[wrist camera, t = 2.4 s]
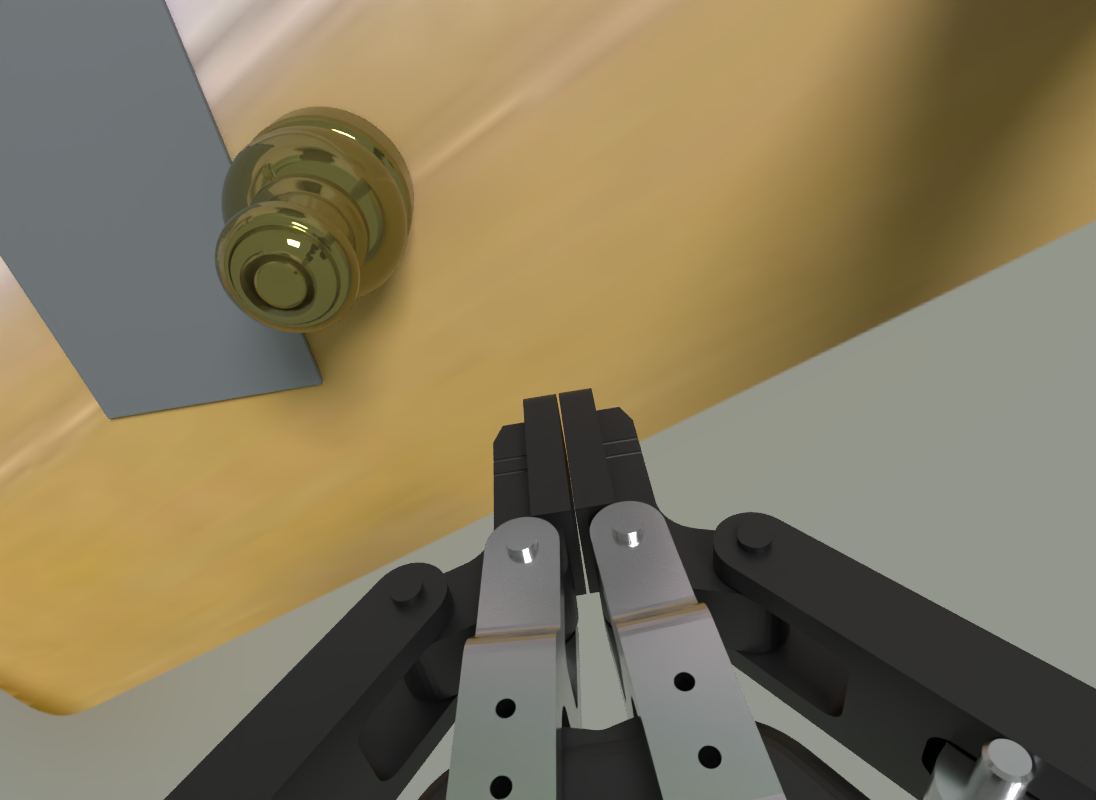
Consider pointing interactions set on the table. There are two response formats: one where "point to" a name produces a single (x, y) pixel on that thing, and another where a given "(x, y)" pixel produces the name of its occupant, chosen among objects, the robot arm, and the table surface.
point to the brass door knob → (312, 219)
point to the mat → (125, 209)
